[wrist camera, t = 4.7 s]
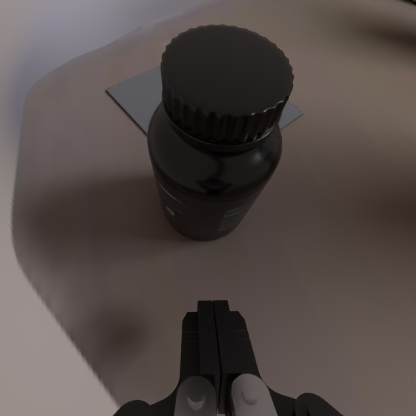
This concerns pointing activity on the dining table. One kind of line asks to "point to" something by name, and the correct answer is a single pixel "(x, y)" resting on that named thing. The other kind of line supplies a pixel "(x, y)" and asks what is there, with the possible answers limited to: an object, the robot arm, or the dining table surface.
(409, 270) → the dining table surface
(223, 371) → the robot arm
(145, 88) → the rubber mat
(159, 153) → the supplement bottle
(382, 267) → the dining table surface
